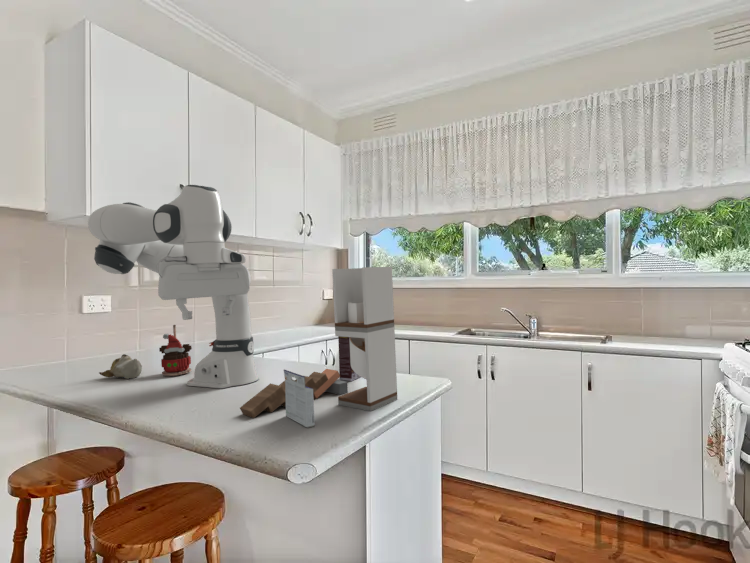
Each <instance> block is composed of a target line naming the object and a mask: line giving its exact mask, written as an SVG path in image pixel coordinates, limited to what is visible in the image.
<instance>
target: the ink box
mask: <svg viewBox="0 0 750 563" xmlns="http://www.w3.org/2000/svg"><path fill="white" fill-rule="evenodd" d="M283 375H284V381H285V393H286V407H285V416H286V417H287V418H289V419H291V420H292V421H295V422H296V423H298V424H299V425H301V426H303V427H305V428H307V429H309V428H311V427H315V405H314V404H315V402H314V399H315V398H313V389H312V388H309V387H306V386H305V376H306V375H301V374H298V373H296V372H293V371H289V370H287V369H285V368H284V369H283ZM293 378H294V379H293ZM296 379H297V381H295V380H296Z"/></svg>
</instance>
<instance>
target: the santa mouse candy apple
mask: <svg viewBox="0 0 750 563" xmlns="http://www.w3.org/2000/svg"><path fill="white" fill-rule="evenodd" d="M176 325H177V324H173V325H172V330H173V332H172V333H173V335H172V334H169V333H164V334H163V335H162V339H164V340H168V343H167V344H165V345H164V344H163V345H161V346H160V347H159V349H158V350H159V352H161V354H163V355H162V358H161V360H160V362H161V364H160V365H161V368H163V371H162V372H161V374H162V375H163V376H169V377H175V376H176V377H178V376H182V375H185V374H187V373H190V372H192V368H190V365H191V363H192V358H191V357H192V356H191V355H189V352H191V350H192V349H193V348H192V345H190V343H185V344H184V343H183V344H182V343H181V341H180V340H179V339H178V338H177V327H176Z"/></svg>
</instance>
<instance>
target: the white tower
mask: <svg viewBox="0 0 750 563" xmlns="http://www.w3.org/2000/svg"><path fill="white" fill-rule="evenodd" d="M331 270H332V271H331V272H332V290H333V313H334V314H333V316H334V336H335V337H338V336H341V337H349V341H350V363H351V368H352V369H353V371H354V372H355V373H356V374H358V375H359V376H361V377H360V378H362V379H365V380H366V386H363V387H361V388H359V389H356V390H352V391H350V392H347V393H344V394H341V395H339V396H338V397H337V403H338V405H339V406H344V407H347V408H348V407H349V408H353V409H358V410H363V411H368V412H372V411H374V410H376V409H379V408H381V407H383V406H385V405H387V404H390V403H392V402H395V401H397V400H398V381H397V380H398V379H397V361H396V360H397V355H396V337H395V336H396V334H395V330H396V329H395V312H394V310H395V309H394V308H395V306H394V289H393V288H394V286H393V282H394V281H393V267H392V266H378V267H377V266H371V267H369V266H366V267H364V266H363V267H359V268H355V267H354V268H332V269H331Z"/></svg>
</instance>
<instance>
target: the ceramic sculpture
mask: <svg viewBox="0 0 750 563" xmlns="http://www.w3.org/2000/svg"><path fill="white" fill-rule="evenodd" d="M142 370H143V365H142V364H141V362H140V361H139V360H138V359H137V358H134V359H132V357H131V356H130V355H127V354H122V355H121V357H118V358H115V359H114V360H113V361H112V363H111V366H110V369H107V370H105V371H101V372H100V371H99V372H98V374H100V375H101V376H102V377H105V378H113V377H116V378H118V377H125V378H124V379H127V380H130V379H129V378H134V379H136V378H138V377H139V376H140V375H141V374H142ZM135 377H136V378H135Z"/></svg>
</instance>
